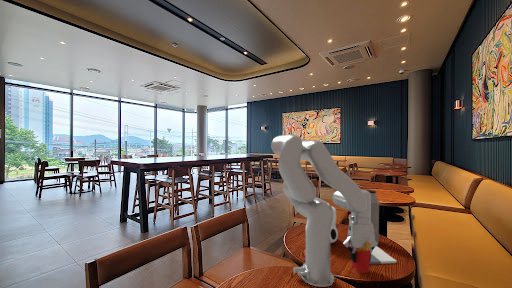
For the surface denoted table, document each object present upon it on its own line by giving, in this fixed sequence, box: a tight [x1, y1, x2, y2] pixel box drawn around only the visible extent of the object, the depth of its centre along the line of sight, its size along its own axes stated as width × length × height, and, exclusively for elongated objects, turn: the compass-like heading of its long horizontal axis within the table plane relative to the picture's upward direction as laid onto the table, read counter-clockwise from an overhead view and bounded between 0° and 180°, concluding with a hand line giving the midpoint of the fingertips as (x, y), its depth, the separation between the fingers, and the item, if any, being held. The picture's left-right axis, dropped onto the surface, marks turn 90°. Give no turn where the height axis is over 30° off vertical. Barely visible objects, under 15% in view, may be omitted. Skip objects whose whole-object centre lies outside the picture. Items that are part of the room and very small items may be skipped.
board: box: [348, 244, 397, 265], centre depth 103 cm, size 15×16×1 cm
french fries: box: [351, 242, 371, 274], centre depth 91 cm, size 9×4×13 cm, turn 21°
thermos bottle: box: [366, 189, 380, 244], centre depth 118 cm, size 8×8×28 cm
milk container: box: [305, 205, 339, 245], centre depth 118 cm, size 17×17×18 cm
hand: (360, 260), depth 91 cm, fingers open, 5 cm apart
